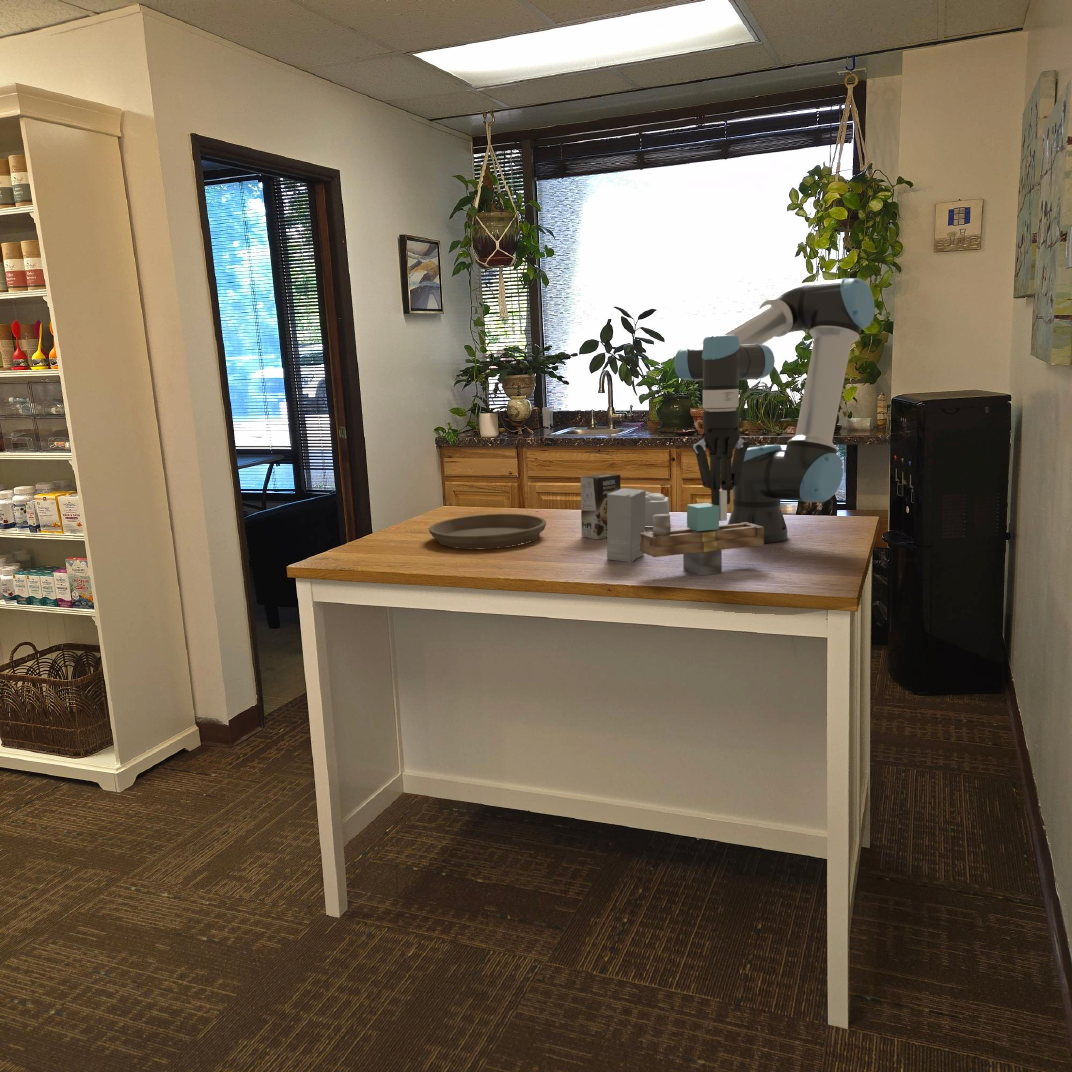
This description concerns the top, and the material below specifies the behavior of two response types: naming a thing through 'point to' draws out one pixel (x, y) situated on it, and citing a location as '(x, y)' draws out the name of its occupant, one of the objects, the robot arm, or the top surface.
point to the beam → (699, 543)
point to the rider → (702, 517)
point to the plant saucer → (488, 530)
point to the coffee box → (596, 503)
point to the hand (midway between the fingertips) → (720, 519)
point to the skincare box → (625, 524)
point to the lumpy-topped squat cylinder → (655, 506)
